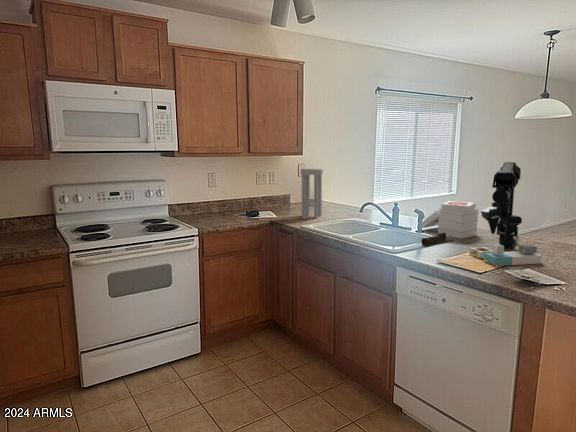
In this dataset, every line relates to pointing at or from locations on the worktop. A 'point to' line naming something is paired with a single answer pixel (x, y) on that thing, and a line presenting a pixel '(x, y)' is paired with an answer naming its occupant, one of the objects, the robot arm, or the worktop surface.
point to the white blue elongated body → (514, 240)
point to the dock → (513, 258)
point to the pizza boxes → (455, 219)
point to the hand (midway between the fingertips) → (499, 236)
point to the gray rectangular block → (527, 249)
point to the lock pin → (498, 250)
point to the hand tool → (434, 239)
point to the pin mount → (480, 251)
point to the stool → (306, 191)
